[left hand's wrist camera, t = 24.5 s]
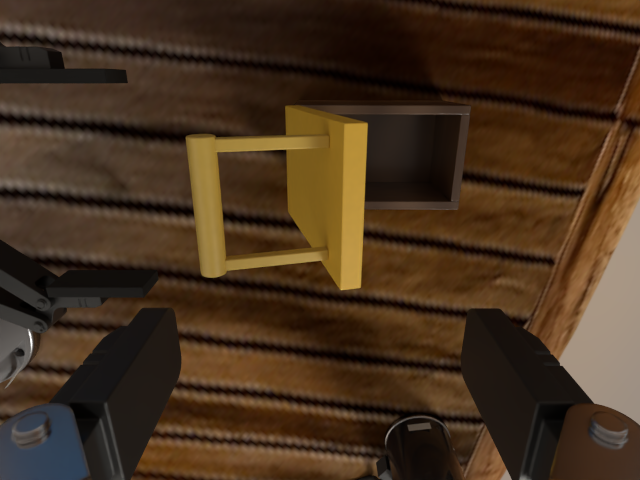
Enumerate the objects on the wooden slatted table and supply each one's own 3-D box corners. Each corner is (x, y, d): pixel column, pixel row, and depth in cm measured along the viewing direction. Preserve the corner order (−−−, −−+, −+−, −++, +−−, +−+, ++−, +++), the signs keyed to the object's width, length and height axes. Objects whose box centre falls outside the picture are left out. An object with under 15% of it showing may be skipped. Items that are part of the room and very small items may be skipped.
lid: (368, 122, 21) (181, 126, 19) (361, 288, 24) (202, 308, 22) (299, 105, 35) (189, 106, 33) (301, 210, 38) (201, 218, 36)
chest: (443, 100, 44) (471, 105, 36) (434, 187, 47) (458, 209, 39) (297, 100, 44) (293, 104, 36) (299, 186, 47) (295, 209, 39)
